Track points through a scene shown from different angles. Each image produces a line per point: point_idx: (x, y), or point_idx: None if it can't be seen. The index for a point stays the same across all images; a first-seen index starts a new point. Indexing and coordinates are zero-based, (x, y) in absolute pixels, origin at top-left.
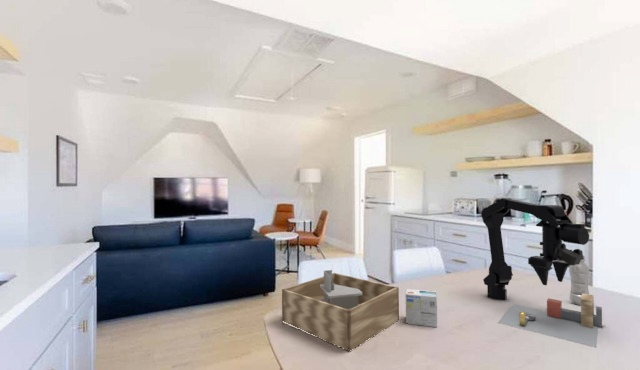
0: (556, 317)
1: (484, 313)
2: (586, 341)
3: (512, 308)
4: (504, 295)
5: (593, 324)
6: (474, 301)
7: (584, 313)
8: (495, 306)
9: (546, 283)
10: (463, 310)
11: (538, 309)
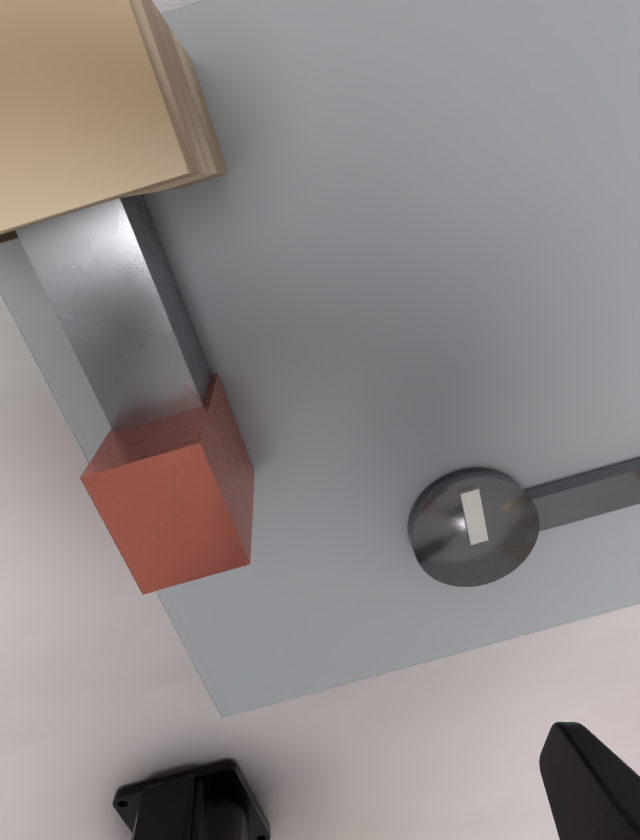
0: None
1: (558, 703)
2: None
3: (336, 670)
4: (191, 819)
5: None
6: (382, 833)
7: (201, 131)
8: (355, 741)
9: (603, 755)
10: None
11: None
